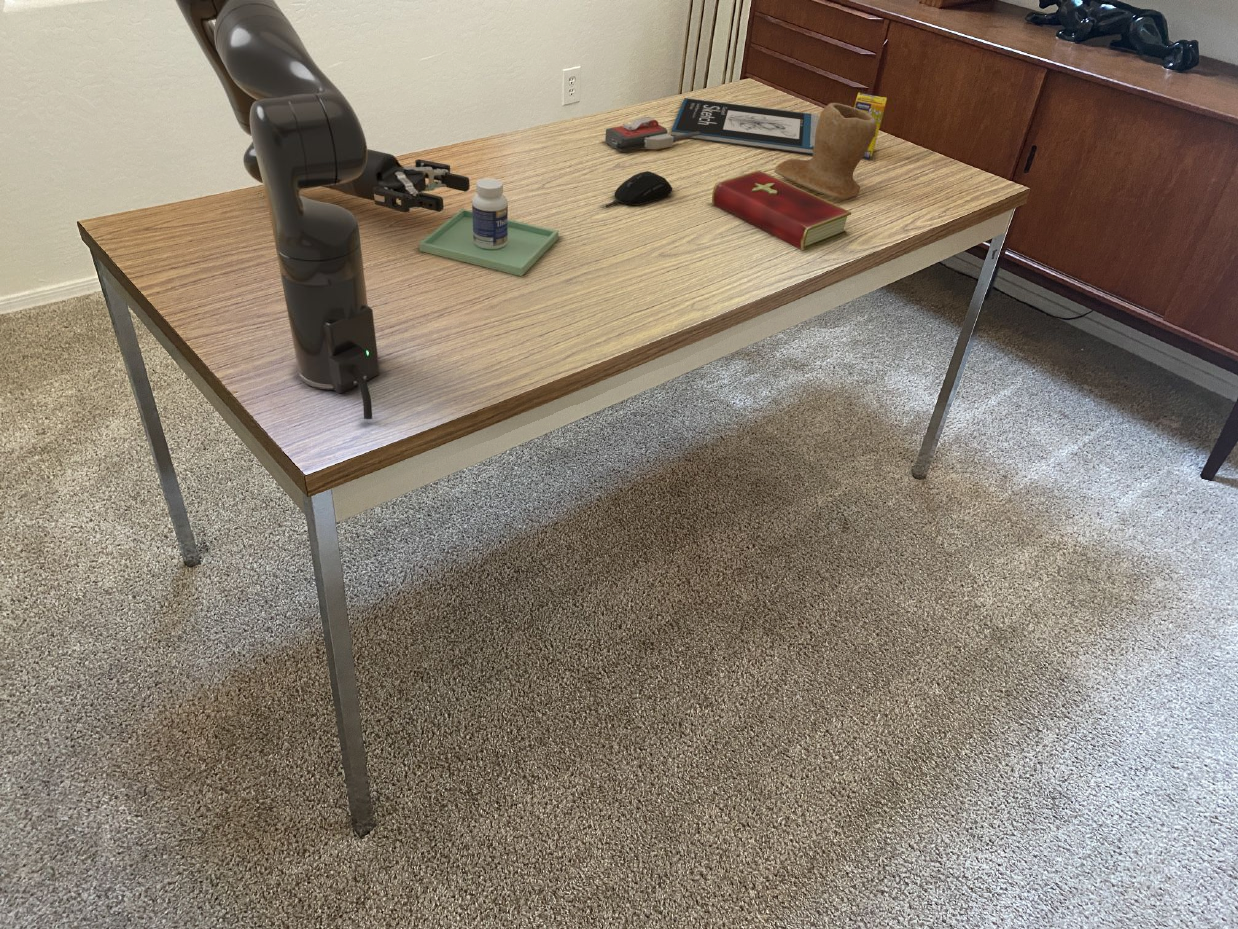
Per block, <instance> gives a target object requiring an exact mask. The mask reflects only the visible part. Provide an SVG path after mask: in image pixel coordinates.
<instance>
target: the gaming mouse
mask: <svg viewBox="0 0 1238 929" xmlns="http://www.w3.org/2000/svg"><path fill="white" fill-rule="evenodd" d="M672 192H673V186H672V185H671V184H670V183H669V181H668V180H667V179H666V178H665V177H663V176H661V175H659V174H657V173H656V172H652V171H649V170H647V171H642V172H639V173H636V174H633V175H632V176H631V177H629V178H628V179H626V180H625V181H623V183H621V184H620V185H619V186H618V187H617V189H616V190H615V191H614V195H613V196H614V197H615V200H613V201H612V202H610V203H608V204H605V208H608V207H611V206H615V205H617V204H619V203H622V204H626V205H629V206H639V205H643V204H648V203H650V202H655V201H658V200H662V199H665V198H666V197H668V196H669V195H670V194H672Z"/></svg>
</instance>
